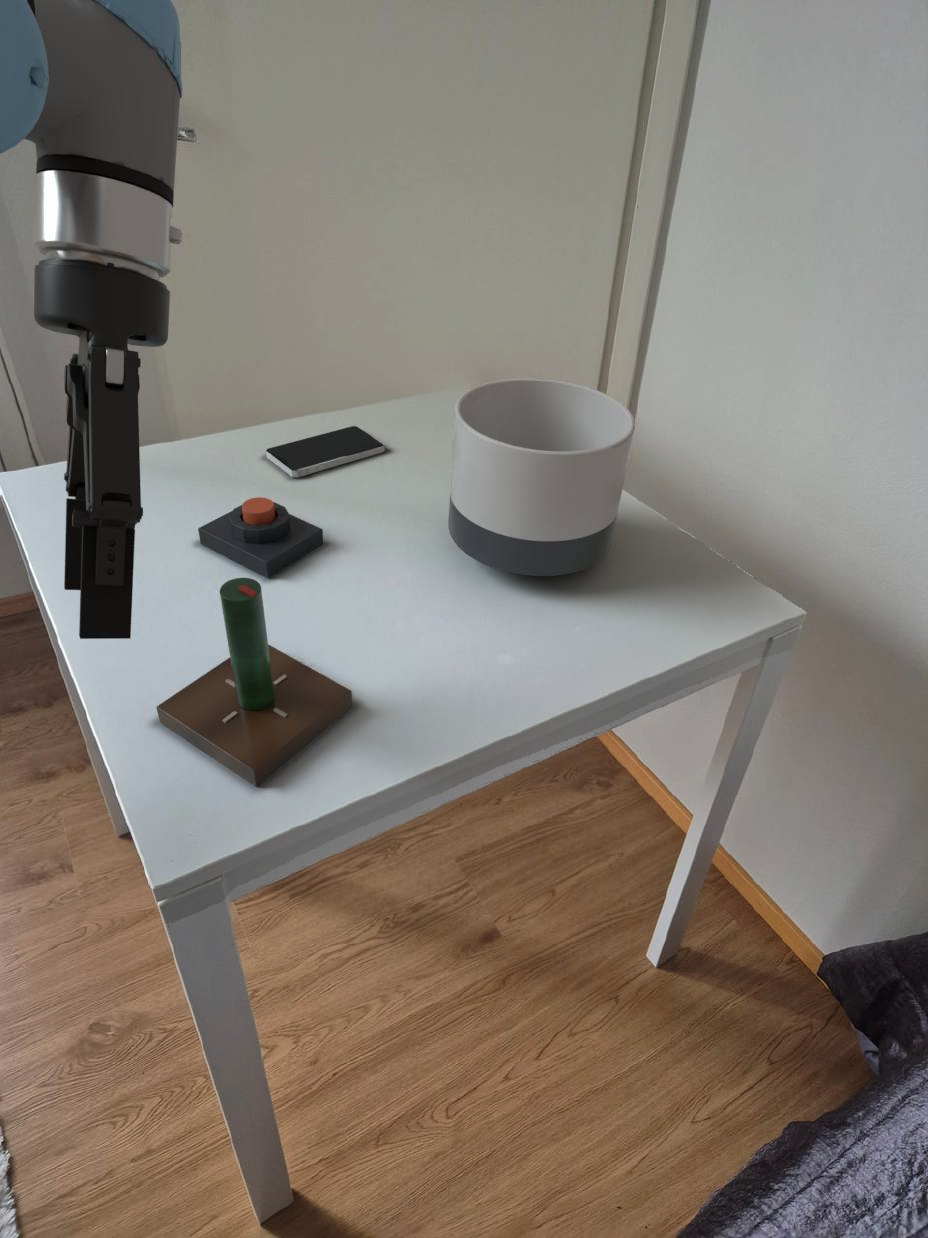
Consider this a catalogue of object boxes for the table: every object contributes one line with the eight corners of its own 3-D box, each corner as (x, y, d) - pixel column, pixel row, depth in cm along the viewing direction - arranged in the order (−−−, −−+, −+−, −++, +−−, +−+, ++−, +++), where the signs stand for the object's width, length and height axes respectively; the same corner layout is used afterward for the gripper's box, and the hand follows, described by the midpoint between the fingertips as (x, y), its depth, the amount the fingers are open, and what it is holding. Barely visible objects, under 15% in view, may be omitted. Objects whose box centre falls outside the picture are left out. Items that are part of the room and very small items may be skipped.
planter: (496, 615, 86) (512, 466, 75) (420, 527, 99) (424, 389, 88) (640, 575, 93) (673, 435, 82) (551, 498, 107) (570, 368, 96)
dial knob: (229, 700, 71) (210, 587, 63) (256, 680, 73) (241, 569, 65) (255, 716, 69) (238, 602, 62) (281, 696, 71) (269, 584, 64)
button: (236, 519, 91) (234, 505, 90) (259, 506, 94) (258, 493, 93) (259, 530, 90) (257, 516, 89) (282, 517, 92) (280, 504, 91)
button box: (200, 544, 93) (195, 514, 91) (257, 513, 99) (254, 485, 97) (268, 578, 89) (264, 548, 86) (323, 544, 95) (321, 515, 92)
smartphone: (386, 445, 114) (294, 471, 106) (386, 452, 115) (294, 480, 106) (354, 424, 118) (263, 448, 110) (354, 432, 119) (264, 456, 111)
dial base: (159, 723, 71) (155, 705, 69) (259, 653, 79) (257, 636, 77) (256, 787, 66) (253, 769, 64) (352, 706, 74) (351, 689, 72)
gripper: (213, 254, 40) (190, 663, 44) (141, 302, 61) (129, 575, 65) (43, 215, 36) (36, 666, 40) (29, 280, 57) (25, 572, 61)
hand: (94, 611), depth 53 cm, fingers open, 13 cm apart
